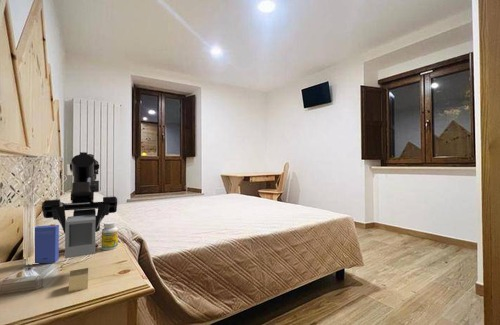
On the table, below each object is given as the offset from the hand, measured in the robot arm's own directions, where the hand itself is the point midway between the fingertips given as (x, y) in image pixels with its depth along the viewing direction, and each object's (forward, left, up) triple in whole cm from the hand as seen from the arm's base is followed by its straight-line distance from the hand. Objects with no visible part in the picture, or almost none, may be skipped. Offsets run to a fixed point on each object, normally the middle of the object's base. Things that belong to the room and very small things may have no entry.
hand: (81, 230), depth 71 cm
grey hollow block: (-1, +1, -7) cm, 7 cm away
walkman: (-20, +2, -13) cm, 24 cm away
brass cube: (+6, -5, -13) cm, 15 cm away
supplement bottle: (-12, +20, -13) cm, 27 cm away
